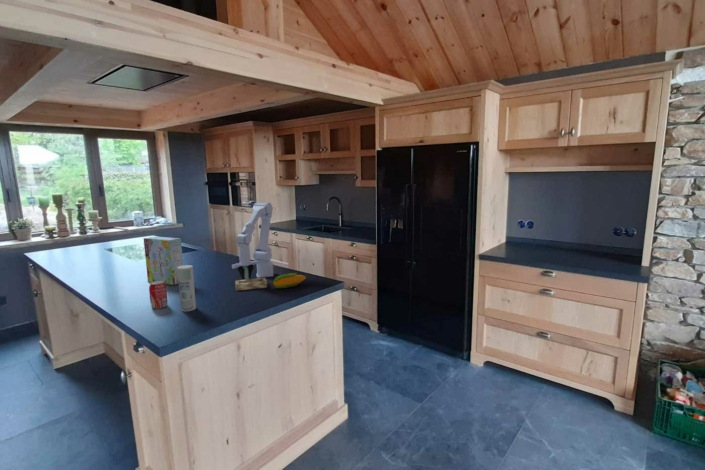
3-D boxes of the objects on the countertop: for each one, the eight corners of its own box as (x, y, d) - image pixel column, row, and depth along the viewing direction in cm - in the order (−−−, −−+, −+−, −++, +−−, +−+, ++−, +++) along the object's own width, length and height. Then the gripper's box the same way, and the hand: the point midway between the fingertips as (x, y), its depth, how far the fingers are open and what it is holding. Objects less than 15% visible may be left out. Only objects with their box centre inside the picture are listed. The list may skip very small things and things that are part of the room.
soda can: (155, 304, 178) (152, 280, 176) (170, 303, 178) (168, 279, 176) (148, 309, 171) (145, 284, 169) (164, 309, 171) (161, 284, 169)
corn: (269, 274, 199) (301, 268, 211) (269, 288, 201) (301, 281, 213) (275, 278, 194) (308, 271, 206) (276, 292, 195) (308, 284, 207)
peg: (248, 282, 211) (247, 266, 210) (249, 283, 209) (248, 267, 207) (243, 282, 210) (242, 267, 209) (243, 284, 208) (242, 268, 206)
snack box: (186, 282, 214) (182, 237, 210) (173, 286, 206) (168, 240, 202) (159, 277, 223) (155, 235, 219) (146, 281, 215) (141, 237, 211)
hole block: (265, 283, 209) (265, 277, 209) (267, 287, 202) (266, 281, 201) (235, 286, 204) (235, 280, 203) (236, 291, 196) (235, 284, 196)
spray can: (198, 306, 175) (194, 264, 171) (193, 311, 168) (189, 268, 165) (184, 306, 175) (180, 265, 171) (178, 311, 168) (174, 268, 165)
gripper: (253, 252, 214) (254, 274, 217) (229, 255, 205) (230, 279, 208) (259, 254, 209) (260, 277, 211) (234, 258, 200) (235, 282, 202)
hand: (246, 278), depth 209 cm, fingers open, 3 cm apart
